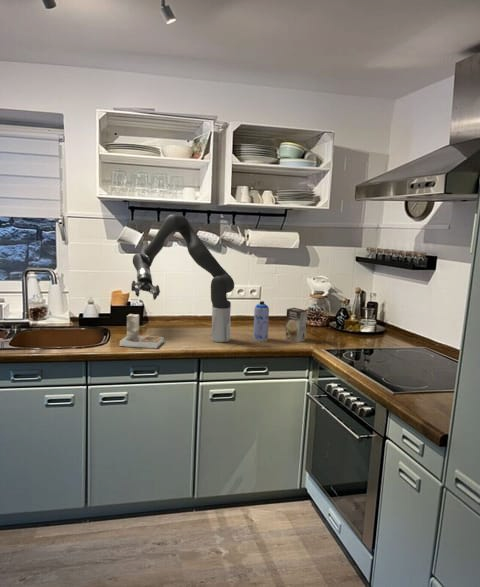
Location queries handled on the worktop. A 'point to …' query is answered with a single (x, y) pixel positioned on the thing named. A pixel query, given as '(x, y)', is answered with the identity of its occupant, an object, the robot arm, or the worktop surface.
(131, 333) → the peg
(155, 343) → the grey flat block
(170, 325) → the worktop surface
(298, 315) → the coffee box
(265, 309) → the aerosol can
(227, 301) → the robot arm
